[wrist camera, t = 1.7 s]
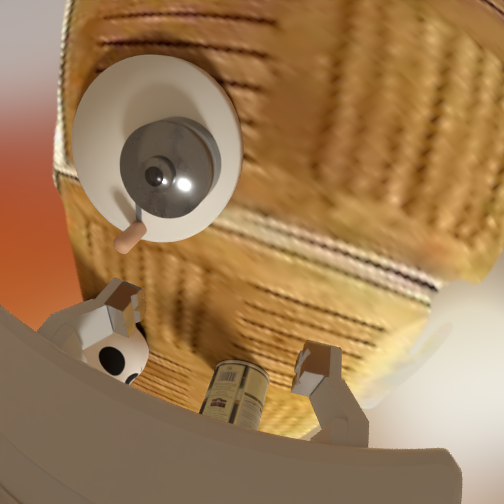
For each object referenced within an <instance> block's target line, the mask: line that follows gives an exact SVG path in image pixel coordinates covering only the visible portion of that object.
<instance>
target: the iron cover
mask: <svg viewBox="0 0 504 504" xmlns="http://www.w3.org/2000/svg"><path fill="white" fill-rule="evenodd" d="M220 173H221V155H220V151H219V148H218V145H217V143H216V141H215V139H214V138H213V136H212V135H211V133H210V132H209V131H208V130H207V129H206V128H205V127H204V126H202V125H201V124H200V123H198V122H196V121H194V120H192V119H189V118H186V117H178V116H176V117H168V118H164V119H161V120H158V121H155V122H152V123H148V124H146V125H143V126H141V127H139V128H138V129H136V130H135V131H134V132H133V133H132V134H131V135H130V136H129V137H128V138H127V140H126V142H125V143H124V146H123V148H122V151H121V155H120V174H121V178H122V182H123V184H124V187H125V189H126V191H127V193H128V194H129V196H130V197H131V198H132V200H133V201H134V202H135V203H136V204H137V205H138V206H139V207H140V208H142V209H143V210H144V211H146V212H148V213H149V214H152V215H154V216H157V217H160V218H167V219H172V218H179V217H182V216H185V215H187V214H189V213H190V212H192V211H193V210H194V209H195V208H196V207H197V206H198V205H199V204H200V203H201V202H202V201H203V200H204V199H205V198H206V197H207V196H208V195H209V193H210V192H211V191H212V190H213V189H214V187H215V186H216V184H217V182H218V180H219V177H220Z"/></svg>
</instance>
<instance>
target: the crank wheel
mask: <svg viewBox="0 0 504 504" xmlns="http://www.w3.org/2000/svg"><path fill="white" fill-rule="evenodd" d="M176 116H178V117H186V118H189V119H192V120H194V121H196V122H198V123H200V124H201V125H202V126H204V127H205V128H206V129H207V130H208V131H209V132H210V133H211V135H212V136H213V138H214V139H215V141H216V143H217V145H218V148H219V151H220V155H221V173H220V177H219V180H218V182H217V184H216V186H215V187H214V189H213V190H212V191H211V192H210V193H209V195H208V196H207V197H206V198H205V199H204V200H203V201H202V202H201V203H200V204H199V205H198V206H197V207H196V208H195V209H194V210H193V211H192V212H190V213H189V214H187V215H185V216H182V217H179V218H172V219H167V218H160V217H157V216H154V215H152V214H149V213H148V212H146V211H144V210H143V209H142V208H140V207H139V206H138V205H137V204H136V203H135V202H134V201H133V200H132V198H131V197H130V196H129V194H128V193H127V191H126V189H125V187H124V184H123V182H122V178H121V174H120V155H121V151H122V148H123V146H124V143H125V142H126V140H127V138H128V137H129V136H130V135H131V134H132V133H133V132H134V131H135V130H136V129H138V128H139V127H141V126H143V125H146V124H148V123H152V122H155V121H158V120H161V119H164V118H168V117H176ZM72 153H73V159H74V165H75V168H76V172H77V175H78V178H79V180H80V183H81V185H82V187H83V189H84V191H85V193H86V195H87V196H88V198H89V199H90V201H91V202H92V204H93V205H94V206H95V207H96V209H97V210H98V211H99V212H100V213H101V214H102V215H103V216H104V217H105V218H106V219H107V220H108V221H109V222H111V223H112V224H113V225H114V226H116V227H117V228H119V229H120V230H122V231H123V232H122V233H121V234H120V235H119V236H118V237H117V238H116V239H115V240H114V246H115V248H116V250H117V251H118V252H120V253H122V254H126V253H127V252H128V251H129V250H130V249H131V248H132V247H133V246H134V245H135V244H136V243H137V242H138V241H139V240H140V239H144V240H148V241H154V242H173V241H179V240H182V239H185V238H189V237H191V236H193V235H195V234H197V233H199V232H200V231H202V230H203V229H205V228H206V227H207V226H208V225H210V224H211V223H212V222H213V221H214V220H215V219H216V218H217V216H218V215H219V214H220V212H221V211H222V210H223V209H224V207H225V206H226V205H227V203H228V202H229V200H230V198H231V197H232V195H233V193H234V191H235V189H236V186H237V184H238V181H239V178H240V174H241V170H242V163H243V137H242V131H241V126H240V122H239V119H238V116H237V113H236V111H235V109H234V106H233V104H232V102H231V100H230V99H229V97H228V95H227V94H226V92H225V91H224V89H223V88H222V87H221V86H220V85H219V83H218V82H217V81H216V80H215V79H214V78H213V77H212V76H210V75H209V74H208V73H207V72H206V71H205V70H203V69H201V68H200V67H198V66H197V65H195V64H193V63H191V62H188V61H186V60H184V59H180V58H176V57H172V56H164V55H149V54H148V55H138V56H134V57H130V58H126V59H124V60H121V61H119V62H117V63H115V64H113V65H112V66H110V67H108V68H107V69H106V70H104V71H103V72H102V73H101V74H100V75H99V76H97V78H96V79H95V80H94V81H93V82H92V83H91V84H90V86H89V87H88V89H87V90H86V92H85V93H84V95H83V97H82V99H81V101H80V103H79V106H78V108H77V111H76V114H75V118H74V123H73V130H72Z"/></svg>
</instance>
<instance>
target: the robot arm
mask: <svg viewBox="0 0 504 504" xmlns="http://www.w3.org/2000/svg"><path fill="white" fill-rule="evenodd" d="M144 296H145V290H144V289H142V288H140V287H137V286H135V285H132V284H130V283H128V282H125V281H123V280H120V279H118V278H114V279H112V280H111V281H110V283H109V284H108V285H107V286H106V287H105V288H104V289H103V290H102V292H101V293H100V294H99V295H98V296H97V297H96V299H95V300H94V299H90V300H87V301H85V302H82V303H79V304H77V305H74V306H71V307H69V308H66V309H64V310H61V311H58V312H56V313H53V314H51V315H50V317H49V318H48V319H47V320H46V321H45V322H44V323H43V325H42V326H41V327H40V328H39V329H38V330H37V332H36V331H34V330H33V329H32V328H30V327H29V326H27V325H26V324H25V323H23V322H22V321H20V320H19V319H18V318H17V317H15V316H14V315H13V314H11V313H10V312H9V311H7V310H6V309H5V308H4V307H2V306H1V305H0V504H461V498H462V472H461V469H460V467H459V465H458V464H457V462H456V461H455V459H454V458H453V457H452V455H451V454H450V452H449V451H448V450H447V449H444V448H431V449H380V448H368V438H369V437H368V435H369V421H368V419H367V418H366V416H365V414H364V412H363V411H362V409H361V407H360V406H359V404H358V402H357V401H356V399H355V397H354V396H353V394H352V392H351V391H350V389H349V387H348V386H347V384H346V382H345V381H344V380H341V366H342V349H341V348H340V347H335V346H331V345H328V344H323V343H319V342H314V341H310V340H307V341H306V342H305V344H304V348H303V350H302V351H300V353H299V355H298V358H297V360H296V364H295V369H294V371H295V373H296V375H295V377H294V378H293V381H292V387H291V392H292V393H295V394H300V395H304V396H308V397H309V399H310V402H311V404H312V406H313V409H314V411H315V414H316V416H317V419H318V421H319V423H320V426H321V428H322V430H321V431H320V432H318V433H317V434H316V435H315V436H313V437H312V438H311V440H310V441H306V440H300V439H294V438H289V437H284V436H279V435H274V434H270V433H266V432H261V431H257V430H253V429H249V428H245V427H242V426H238V425H234V424H231V423H228V422H224V421H221V420H218V419H214V418H211V417H208V416H205V415H202V414H199V413H196V412H193V411H191V410H188V409H185V408H182V407H180V406H177V405H174V404H172V403H169V402H167V401H164V400H162V399H159V398H157V397H155V396H152V395H150V394H148V393H145V392H143V391H141V390H138V389H136V388H134V387H132V386H130V385H128V384H126V383H123V382H121V381H119V380H117V379H115V378H113V377H111V376H109V375H107V374H105V373H104V372H102V371H100V370H98V369H96V368H94V367H92V366H91V365H89V364H87V363H86V362H87V358H86V356H85V354H84V351H83V350H84V349H86V348H88V347H89V346H91V345H93V344H95V343H96V342H98V341H100V340H102V339H104V338H105V337H107V336H109V335H111V334H112V333H113V332H115V333H117V334H119V335H122V336H124V337H127V338H130V336H131V335H132V333H133V332H134V330H135V329H136V325H135V323H138V322H140V321H141V320H142V318H143V317H144V314H145V311H146V302H145V300H144V299H143V297H144Z"/></svg>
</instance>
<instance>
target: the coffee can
mask: <svg viewBox="0 0 504 504" xmlns="http://www.w3.org/2000/svg"><path fill="white" fill-rule="evenodd" d="M269 382H270V379H269V376H268V374H267V373H266V372H265V371H264V370H262V369H261V368H260V367H258V366H256V365H254V364H251V363H249V362H245V361H241V360H225V361H222V362H220V363H218V364H217V366H216V368H215V372H214V374H213V377H212V380H211V382H210V385H209V388H208V391H207V393H206V396H205V399H204V401H203V404H202V406H201V409H200V412H199V414H202V415H205V416H208V417H211V418H214V419H218V420H221V421H224V422H228V423H231V424H234V425H238V426H242V427H245V428H249V429H253V430H257V431H258V427H259V422H260V418H261V414H262V410H263V406H264V402H265V397H266V393H267V388H268V384H269Z"/></svg>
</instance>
